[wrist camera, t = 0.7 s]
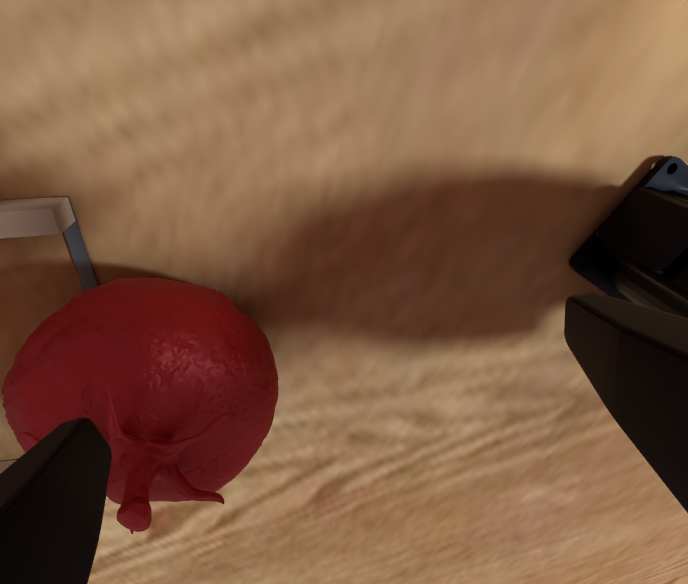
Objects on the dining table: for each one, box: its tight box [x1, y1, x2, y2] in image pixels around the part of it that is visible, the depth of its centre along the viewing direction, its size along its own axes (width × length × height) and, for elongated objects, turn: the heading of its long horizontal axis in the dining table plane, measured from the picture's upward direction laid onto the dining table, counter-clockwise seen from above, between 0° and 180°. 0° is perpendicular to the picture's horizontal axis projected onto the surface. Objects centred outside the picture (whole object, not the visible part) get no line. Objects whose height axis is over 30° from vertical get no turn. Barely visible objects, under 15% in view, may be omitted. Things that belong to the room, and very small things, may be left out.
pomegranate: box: [2, 278, 278, 534], centre depth 18 cm, size 10×10×9 cm
